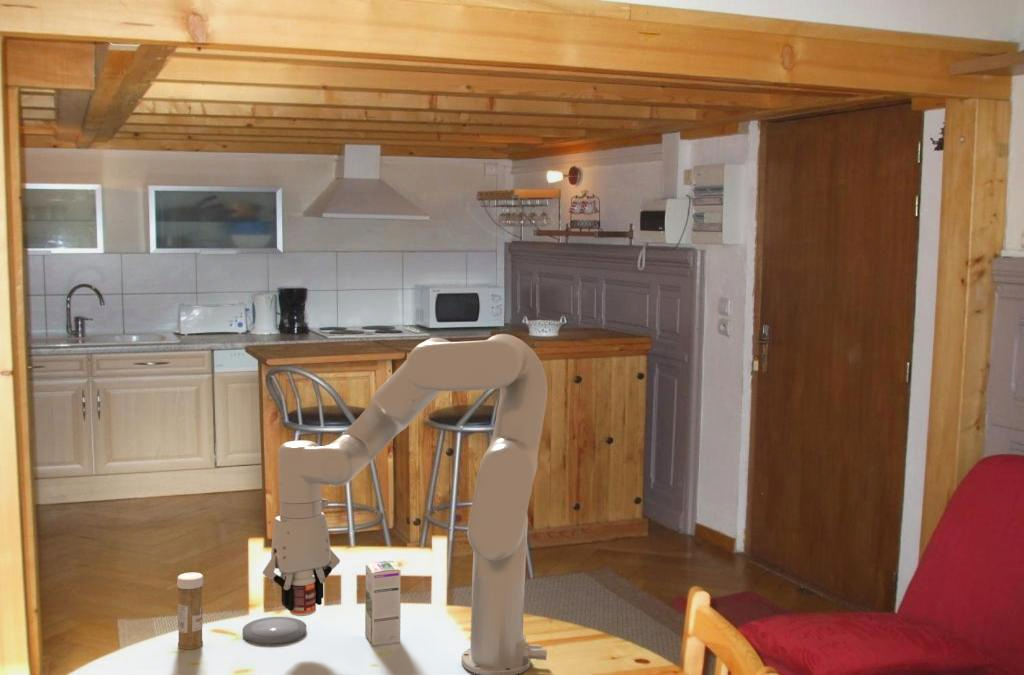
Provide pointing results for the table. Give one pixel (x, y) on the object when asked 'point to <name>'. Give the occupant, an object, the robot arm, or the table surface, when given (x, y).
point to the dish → (274, 630)
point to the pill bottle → (304, 593)
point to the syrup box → (382, 603)
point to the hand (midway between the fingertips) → (302, 604)
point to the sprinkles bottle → (190, 610)
